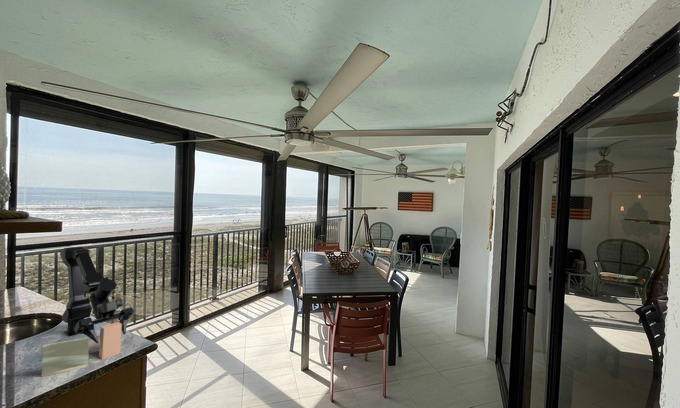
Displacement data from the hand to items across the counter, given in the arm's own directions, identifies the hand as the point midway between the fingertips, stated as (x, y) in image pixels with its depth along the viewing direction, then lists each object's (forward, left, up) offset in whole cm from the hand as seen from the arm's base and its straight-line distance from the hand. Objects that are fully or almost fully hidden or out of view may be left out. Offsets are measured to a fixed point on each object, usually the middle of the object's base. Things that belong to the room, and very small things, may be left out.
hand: (111, 338), depth 117 cm
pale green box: (-5, -12, -7) cm, 15 cm away
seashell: (-12, -1, -8) cm, 15 cm away
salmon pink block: (-1, 0, -7) cm, 7 cm away
